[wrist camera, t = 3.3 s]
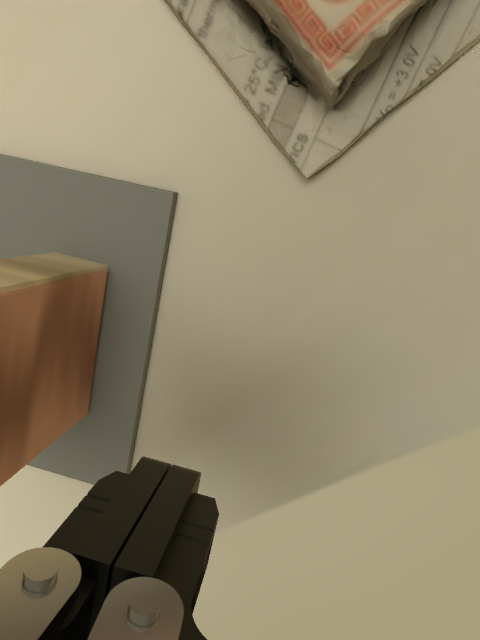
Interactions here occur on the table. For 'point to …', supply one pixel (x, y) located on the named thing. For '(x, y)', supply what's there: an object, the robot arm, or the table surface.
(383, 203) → the table surface
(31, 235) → the mat
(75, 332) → the birch tile
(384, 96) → the packaged product
